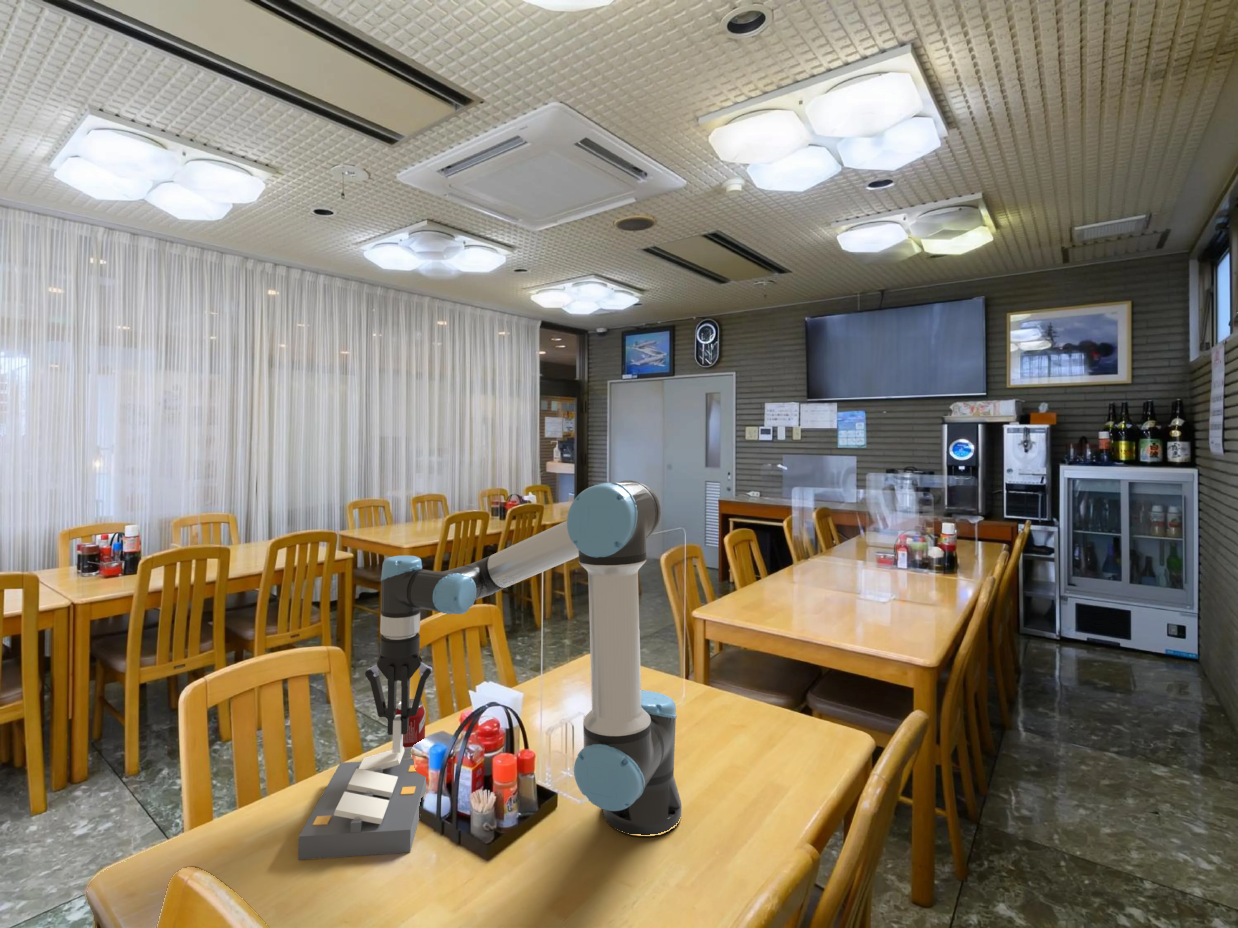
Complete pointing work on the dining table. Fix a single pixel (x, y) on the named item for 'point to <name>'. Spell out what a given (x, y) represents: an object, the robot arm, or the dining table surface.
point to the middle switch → (372, 783)
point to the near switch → (362, 808)
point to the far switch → (382, 760)
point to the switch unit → (360, 837)
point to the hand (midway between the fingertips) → (397, 749)
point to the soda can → (413, 729)
